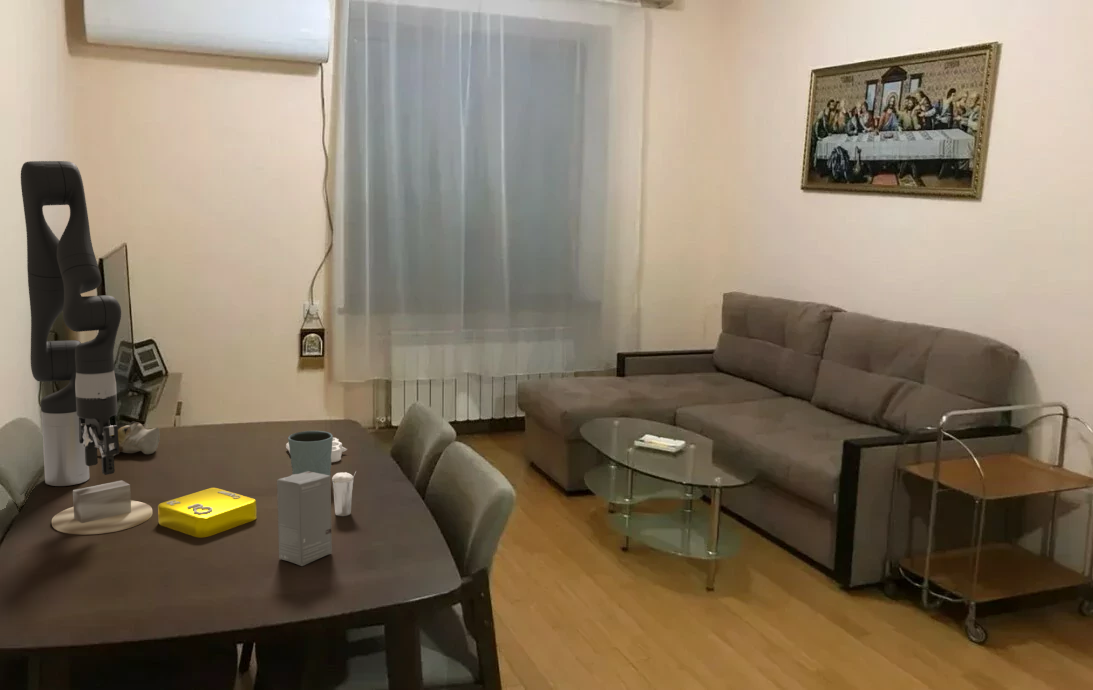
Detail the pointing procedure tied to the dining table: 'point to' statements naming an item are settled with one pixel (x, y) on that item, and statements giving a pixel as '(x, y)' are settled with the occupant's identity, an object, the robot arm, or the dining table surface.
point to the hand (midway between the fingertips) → (100, 469)
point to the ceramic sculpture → (137, 439)
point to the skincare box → (304, 517)
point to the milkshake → (342, 493)
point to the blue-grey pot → (311, 452)
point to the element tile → (207, 512)
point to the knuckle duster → (336, 450)
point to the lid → (102, 510)
